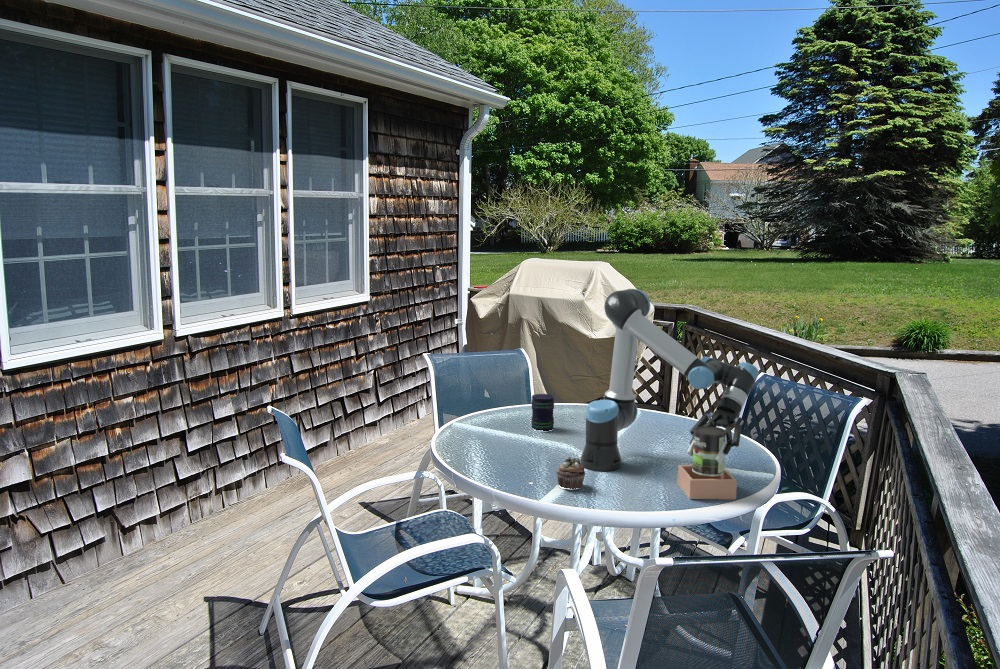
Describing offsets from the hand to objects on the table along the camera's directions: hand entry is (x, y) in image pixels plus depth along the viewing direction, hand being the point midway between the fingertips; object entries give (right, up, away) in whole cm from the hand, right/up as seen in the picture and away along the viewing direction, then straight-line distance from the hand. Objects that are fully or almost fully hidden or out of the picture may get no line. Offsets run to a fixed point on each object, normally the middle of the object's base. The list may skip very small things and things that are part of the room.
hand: (703, 457), depth 231 cm
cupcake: (-43, -11, +8) cm, 45 cm away
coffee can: (+2, -5, +3) cm, 6 cm away
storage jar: (-48, -2, +79) cm, 93 cm away
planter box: (+2, -12, +4) cm, 13 cm away
